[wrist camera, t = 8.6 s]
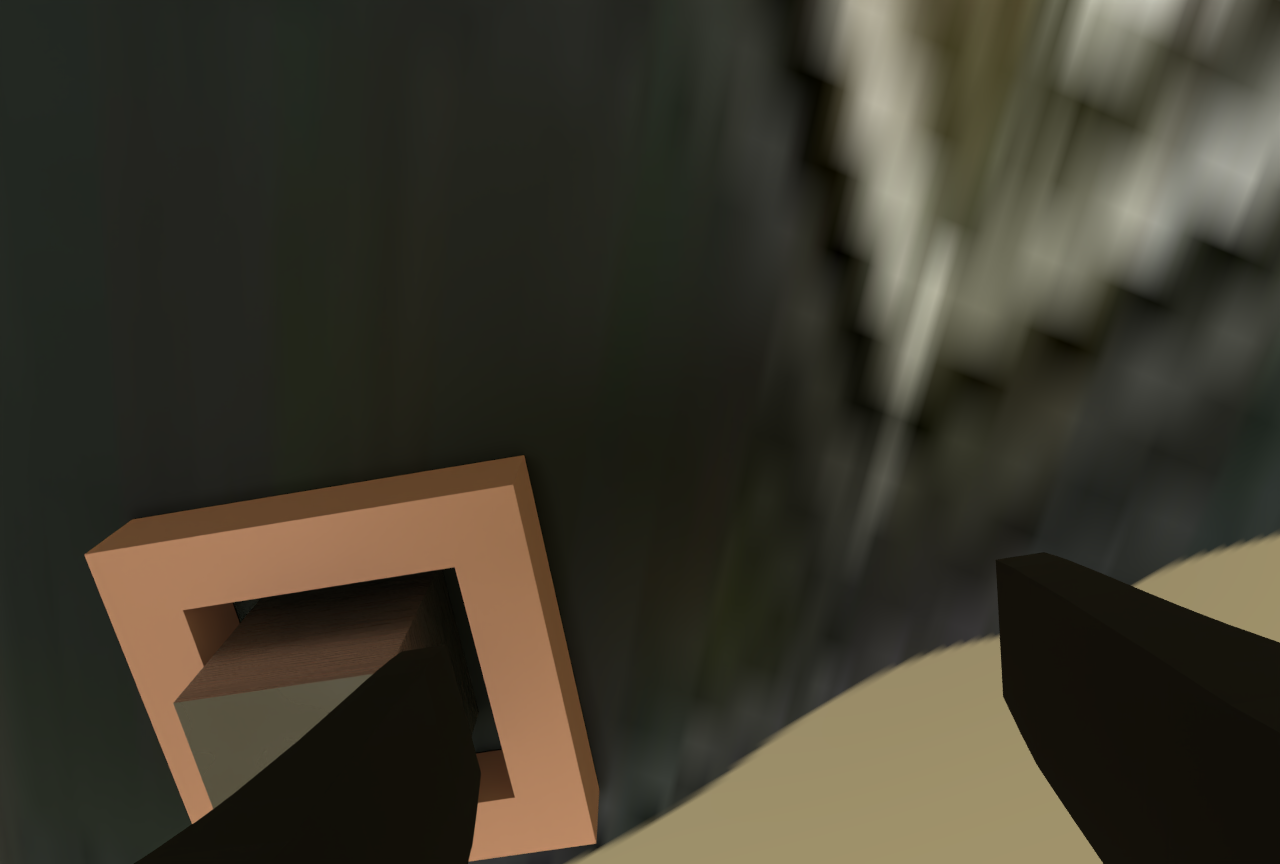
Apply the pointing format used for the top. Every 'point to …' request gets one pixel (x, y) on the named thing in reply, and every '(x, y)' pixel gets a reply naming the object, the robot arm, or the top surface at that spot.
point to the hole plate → (362, 551)
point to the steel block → (307, 669)
